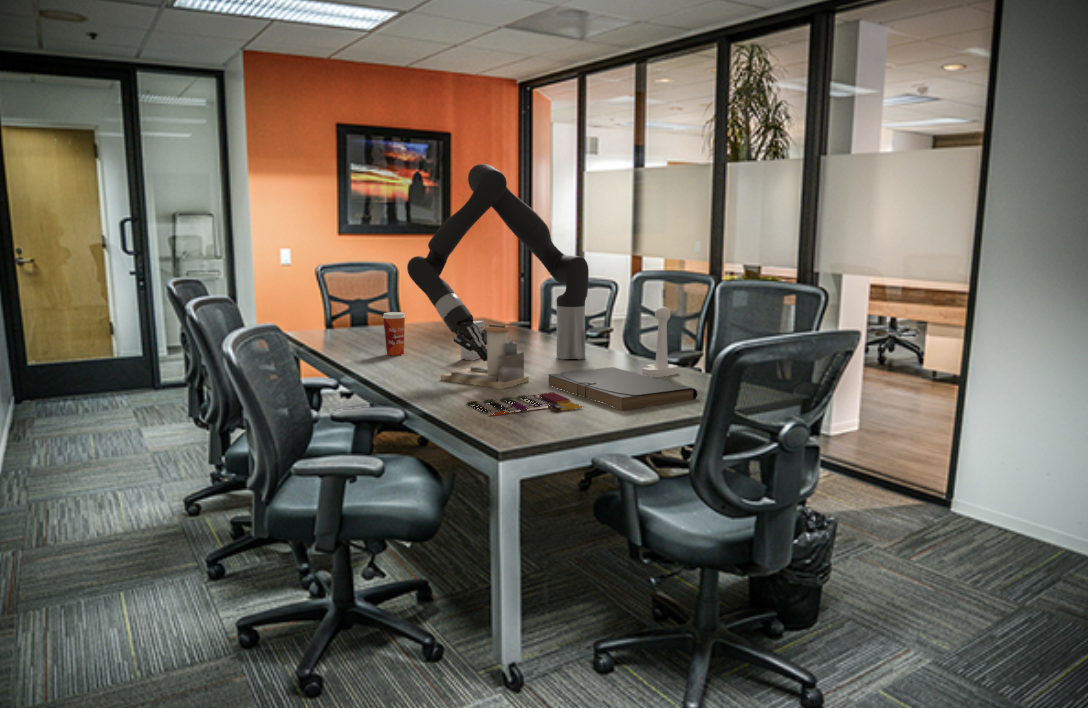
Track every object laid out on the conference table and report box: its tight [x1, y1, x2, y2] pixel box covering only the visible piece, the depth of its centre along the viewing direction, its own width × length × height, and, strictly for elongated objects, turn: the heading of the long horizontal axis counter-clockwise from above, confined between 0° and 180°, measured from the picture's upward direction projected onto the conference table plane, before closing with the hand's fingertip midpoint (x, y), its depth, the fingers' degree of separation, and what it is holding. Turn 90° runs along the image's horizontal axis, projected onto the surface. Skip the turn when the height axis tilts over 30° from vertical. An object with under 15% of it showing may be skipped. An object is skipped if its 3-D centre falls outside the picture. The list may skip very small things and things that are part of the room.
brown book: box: [547, 367, 698, 412], centre depth 200 cm, size 33×4×24 cm
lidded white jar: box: [485, 323, 510, 377], centre depth 210 cm, size 7×7×14 cm
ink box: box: [459, 320, 487, 361], centre depth 249 cm, size 9×5×12 cm, turn 154°
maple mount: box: [440, 351, 530, 390], centre depth 214 cm, size 22×12×8 cm, turn 55°
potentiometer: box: [505, 335, 518, 355], centre depth 207 cm, size 3×3×5 cm
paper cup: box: [382, 311, 406, 356], centre depth 256 cm, size 8×8×14 cm
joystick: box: [641, 306, 679, 378], centre depth 221 cm, size 11×8×20 cm
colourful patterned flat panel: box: [465, 391, 583, 417], centre depth 184 cm, size 25×18×3 cm
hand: (487, 359), depth 212 cm, fingers closed
